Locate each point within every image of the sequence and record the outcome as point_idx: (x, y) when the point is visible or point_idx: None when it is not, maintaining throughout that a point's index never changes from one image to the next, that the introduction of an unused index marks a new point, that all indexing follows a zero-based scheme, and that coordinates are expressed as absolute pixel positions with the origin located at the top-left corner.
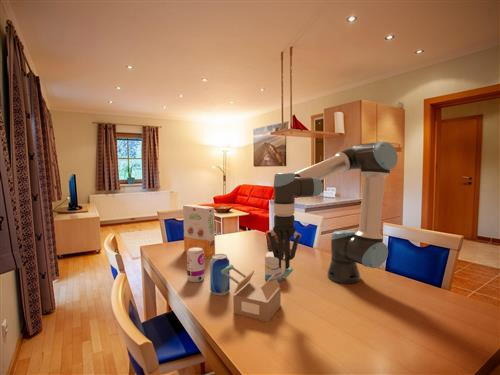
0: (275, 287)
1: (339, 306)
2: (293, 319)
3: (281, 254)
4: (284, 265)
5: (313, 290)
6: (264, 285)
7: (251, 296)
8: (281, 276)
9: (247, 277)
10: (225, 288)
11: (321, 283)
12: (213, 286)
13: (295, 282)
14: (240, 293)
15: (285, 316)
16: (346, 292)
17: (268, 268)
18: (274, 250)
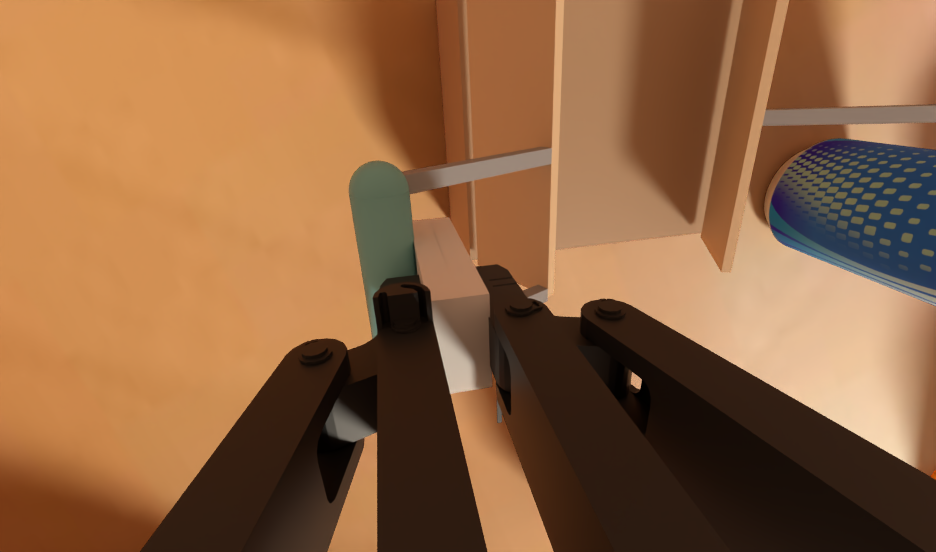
0: (487, 196)
1: (156, 372)
2: (314, 108)
3: (513, 354)
4: (427, 272)
5: None
6: (548, 17)
7: (615, 18)
8: (425, 168)
9: (745, 137)
10: (800, 180)
11: (355, 524)
12: (881, 143)
13: (476, 470)
14: (707, 27)
15: (372, 118)
16: None
17: None
18: (683, 365)
